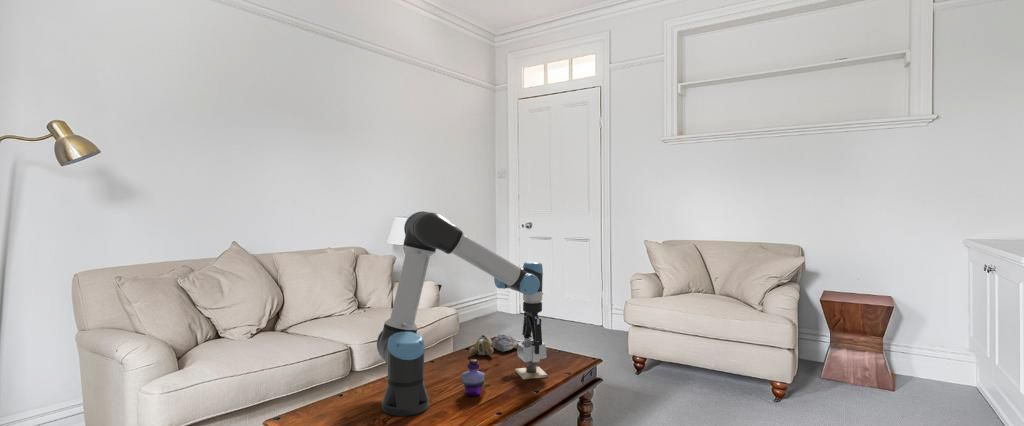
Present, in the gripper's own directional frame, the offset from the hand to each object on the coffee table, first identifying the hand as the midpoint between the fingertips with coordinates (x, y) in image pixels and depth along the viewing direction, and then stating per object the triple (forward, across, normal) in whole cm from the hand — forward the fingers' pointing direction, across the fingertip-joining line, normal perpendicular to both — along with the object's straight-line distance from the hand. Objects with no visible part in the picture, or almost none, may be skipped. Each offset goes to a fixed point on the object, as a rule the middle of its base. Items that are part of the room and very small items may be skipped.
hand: (531, 358), depth 208 cm
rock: (+7, +36, 0) cm, 37 cm away
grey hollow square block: (0, 0, 0) cm, 0 cm away
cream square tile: (+6, 0, 0) cm, 6 cm away
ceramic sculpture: (+7, +31, +12) cm, 34 cm away
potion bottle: (+6, -15, +27) cm, 32 cm away
